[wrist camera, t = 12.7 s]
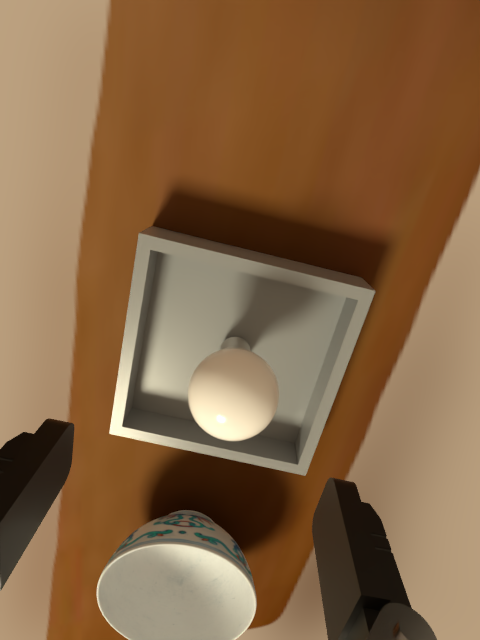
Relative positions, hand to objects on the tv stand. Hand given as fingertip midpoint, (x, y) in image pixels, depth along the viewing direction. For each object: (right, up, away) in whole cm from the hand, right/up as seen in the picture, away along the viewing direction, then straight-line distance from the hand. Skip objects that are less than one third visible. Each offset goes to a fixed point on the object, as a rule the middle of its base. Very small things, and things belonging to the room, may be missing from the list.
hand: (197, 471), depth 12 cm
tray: (+1, +2, +24) cm, 24 cm away
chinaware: (-4, -19, +32) cm, 38 cm away
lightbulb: (+1, +2, +23) cm, 23 cm away
